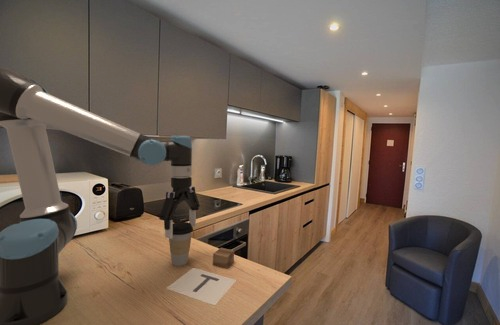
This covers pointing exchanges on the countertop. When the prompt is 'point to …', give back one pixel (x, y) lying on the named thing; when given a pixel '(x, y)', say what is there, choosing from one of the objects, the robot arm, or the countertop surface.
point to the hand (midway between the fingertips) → (181, 231)
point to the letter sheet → (202, 285)
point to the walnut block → (223, 258)
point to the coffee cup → (180, 243)
